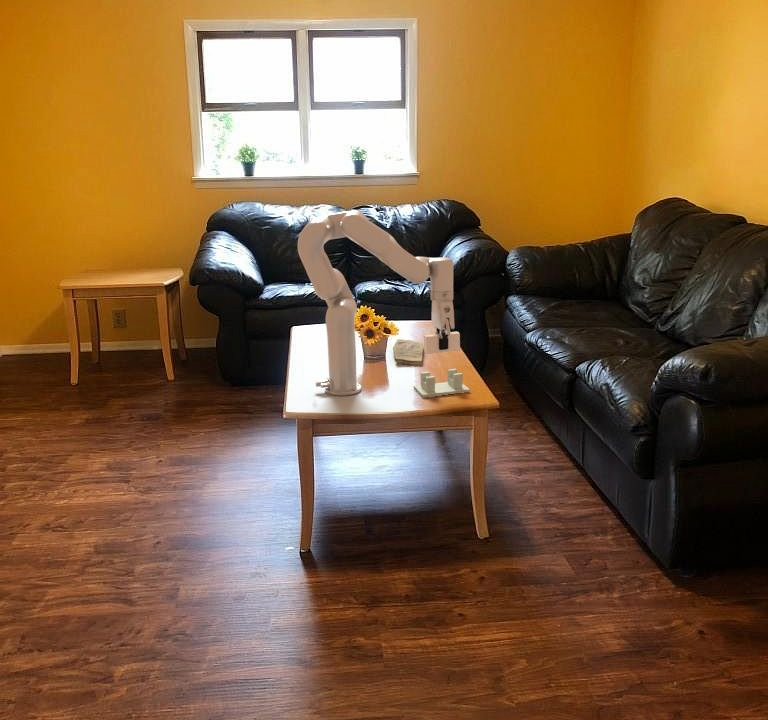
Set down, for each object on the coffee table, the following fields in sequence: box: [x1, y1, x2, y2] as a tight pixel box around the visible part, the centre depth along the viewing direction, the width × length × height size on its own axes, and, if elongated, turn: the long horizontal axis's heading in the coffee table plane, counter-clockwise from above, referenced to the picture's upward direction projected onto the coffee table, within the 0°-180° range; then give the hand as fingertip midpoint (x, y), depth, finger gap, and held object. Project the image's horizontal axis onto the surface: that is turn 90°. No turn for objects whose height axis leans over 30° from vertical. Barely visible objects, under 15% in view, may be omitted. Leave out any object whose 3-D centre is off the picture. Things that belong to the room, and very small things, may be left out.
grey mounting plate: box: [412, 368, 471, 399], centre depth 261 cm, size 17×10×6 cm, turn 106°
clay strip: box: [423, 331, 461, 355], centre depth 257 cm, size 12×2×6 cm, turn 107°
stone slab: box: [392, 338, 424, 366], centre depth 305 cm, size 12×4×30 cm
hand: (441, 347), depth 258 cm, fingers closed on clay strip, 2 cm apart
